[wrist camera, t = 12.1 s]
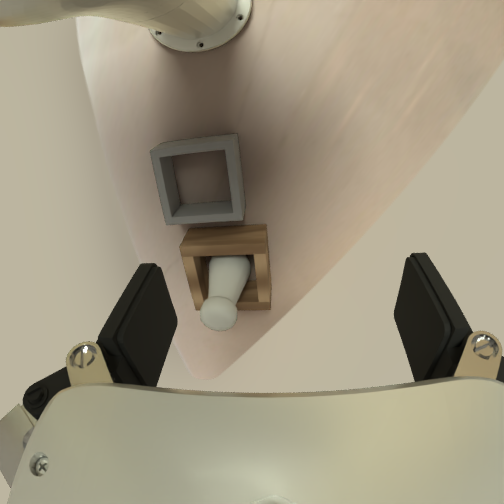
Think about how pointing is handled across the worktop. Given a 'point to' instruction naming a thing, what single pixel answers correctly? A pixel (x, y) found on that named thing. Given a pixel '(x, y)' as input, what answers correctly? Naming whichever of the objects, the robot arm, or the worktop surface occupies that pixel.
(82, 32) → the worktop surface
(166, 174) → the grey open tray
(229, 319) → the salt shaker
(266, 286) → the brown wooden open box
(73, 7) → the robot arm
